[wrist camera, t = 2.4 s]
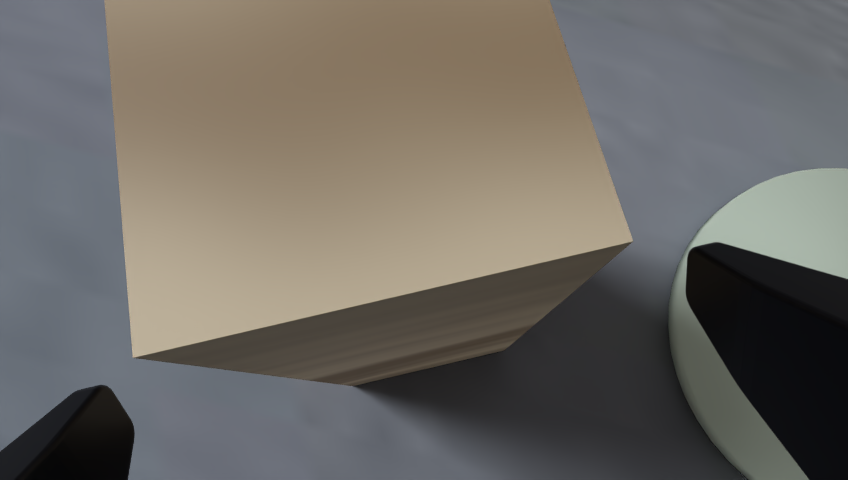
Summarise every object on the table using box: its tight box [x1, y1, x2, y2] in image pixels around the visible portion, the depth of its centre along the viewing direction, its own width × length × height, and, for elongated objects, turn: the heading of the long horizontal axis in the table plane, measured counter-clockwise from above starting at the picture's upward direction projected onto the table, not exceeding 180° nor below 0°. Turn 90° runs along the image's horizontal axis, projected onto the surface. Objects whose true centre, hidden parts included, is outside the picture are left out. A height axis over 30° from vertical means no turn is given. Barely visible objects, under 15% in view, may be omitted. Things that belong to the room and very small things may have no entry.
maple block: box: [105, 0, 633, 386], centre depth 12 cm, size 5×5×13 cm
